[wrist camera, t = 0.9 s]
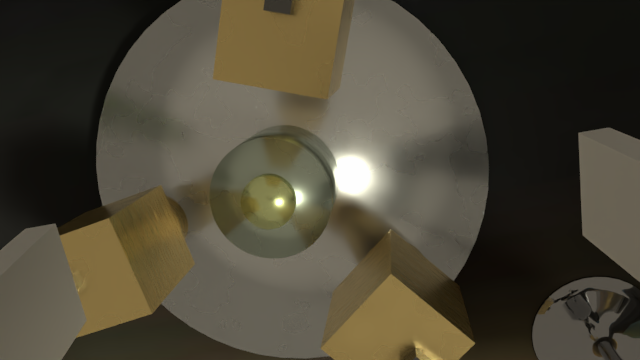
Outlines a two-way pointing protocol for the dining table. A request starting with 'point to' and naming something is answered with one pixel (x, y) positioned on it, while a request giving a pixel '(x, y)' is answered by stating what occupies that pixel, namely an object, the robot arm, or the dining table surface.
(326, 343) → the knob
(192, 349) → the dining table surface
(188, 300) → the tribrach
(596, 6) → the dining table surface
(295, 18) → the knob
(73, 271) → the knob
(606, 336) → the grey funnel
